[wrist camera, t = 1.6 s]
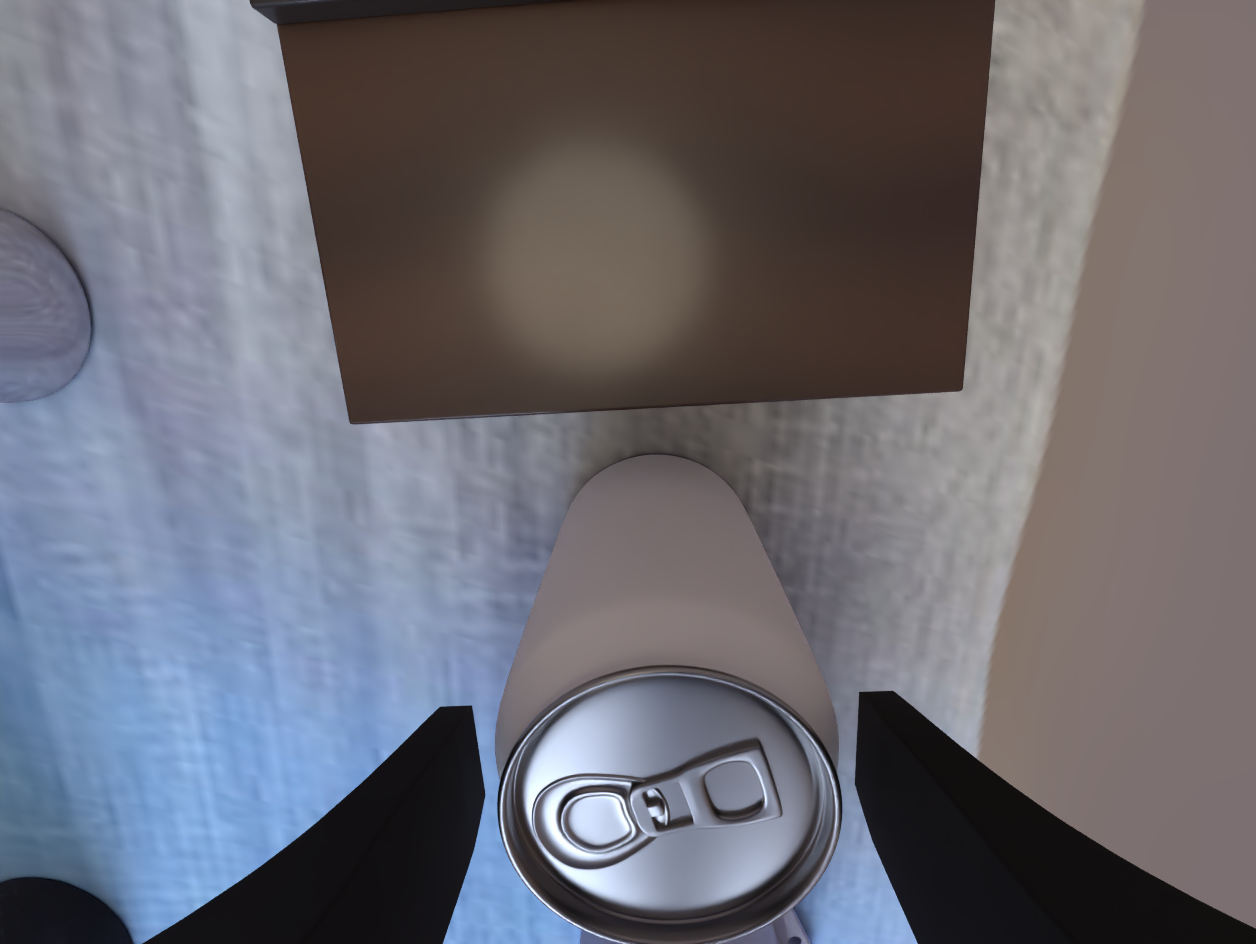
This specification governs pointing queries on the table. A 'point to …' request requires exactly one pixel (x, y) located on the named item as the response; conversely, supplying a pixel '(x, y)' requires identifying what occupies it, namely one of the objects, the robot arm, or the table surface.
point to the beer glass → (38, 314)
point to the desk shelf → (639, 198)
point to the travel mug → (55, 915)
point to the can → (665, 720)
